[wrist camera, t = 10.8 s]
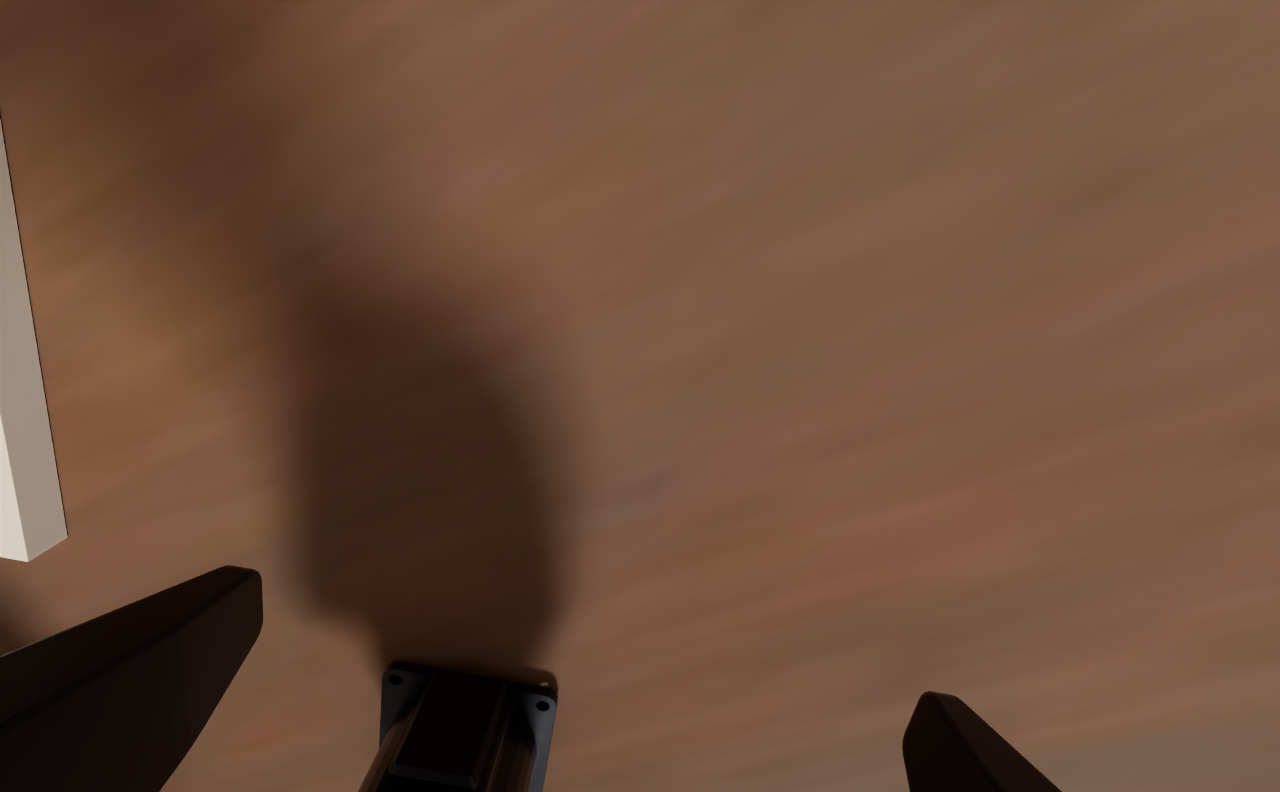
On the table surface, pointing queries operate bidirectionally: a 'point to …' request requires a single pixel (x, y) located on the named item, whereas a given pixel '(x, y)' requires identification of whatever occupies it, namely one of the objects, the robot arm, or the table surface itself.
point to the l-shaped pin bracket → (22, 408)
